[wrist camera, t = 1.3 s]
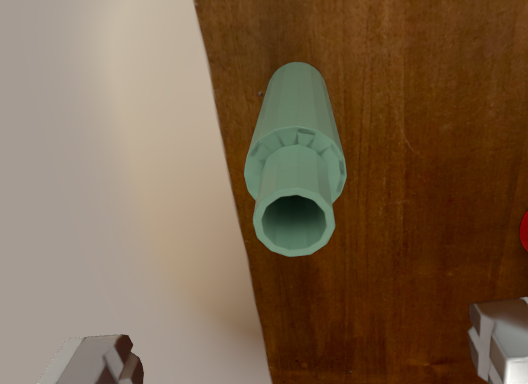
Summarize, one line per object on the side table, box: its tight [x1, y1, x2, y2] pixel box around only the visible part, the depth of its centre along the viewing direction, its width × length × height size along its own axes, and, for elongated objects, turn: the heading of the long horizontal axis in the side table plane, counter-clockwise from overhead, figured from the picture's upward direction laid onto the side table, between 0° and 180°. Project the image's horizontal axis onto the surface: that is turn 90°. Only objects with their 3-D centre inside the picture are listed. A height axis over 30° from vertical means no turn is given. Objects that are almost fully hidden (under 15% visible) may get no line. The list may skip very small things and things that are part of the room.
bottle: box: [244, 62, 347, 257], centre depth 23 cm, size 4×4×19 cm
